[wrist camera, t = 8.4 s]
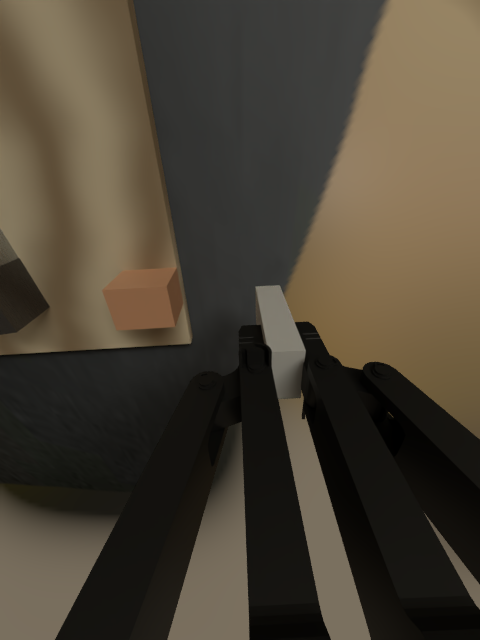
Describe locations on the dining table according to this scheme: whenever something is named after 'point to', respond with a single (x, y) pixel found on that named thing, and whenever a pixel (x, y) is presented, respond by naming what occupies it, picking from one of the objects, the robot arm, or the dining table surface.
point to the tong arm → (17, 292)
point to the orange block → (144, 298)
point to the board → (80, 170)
